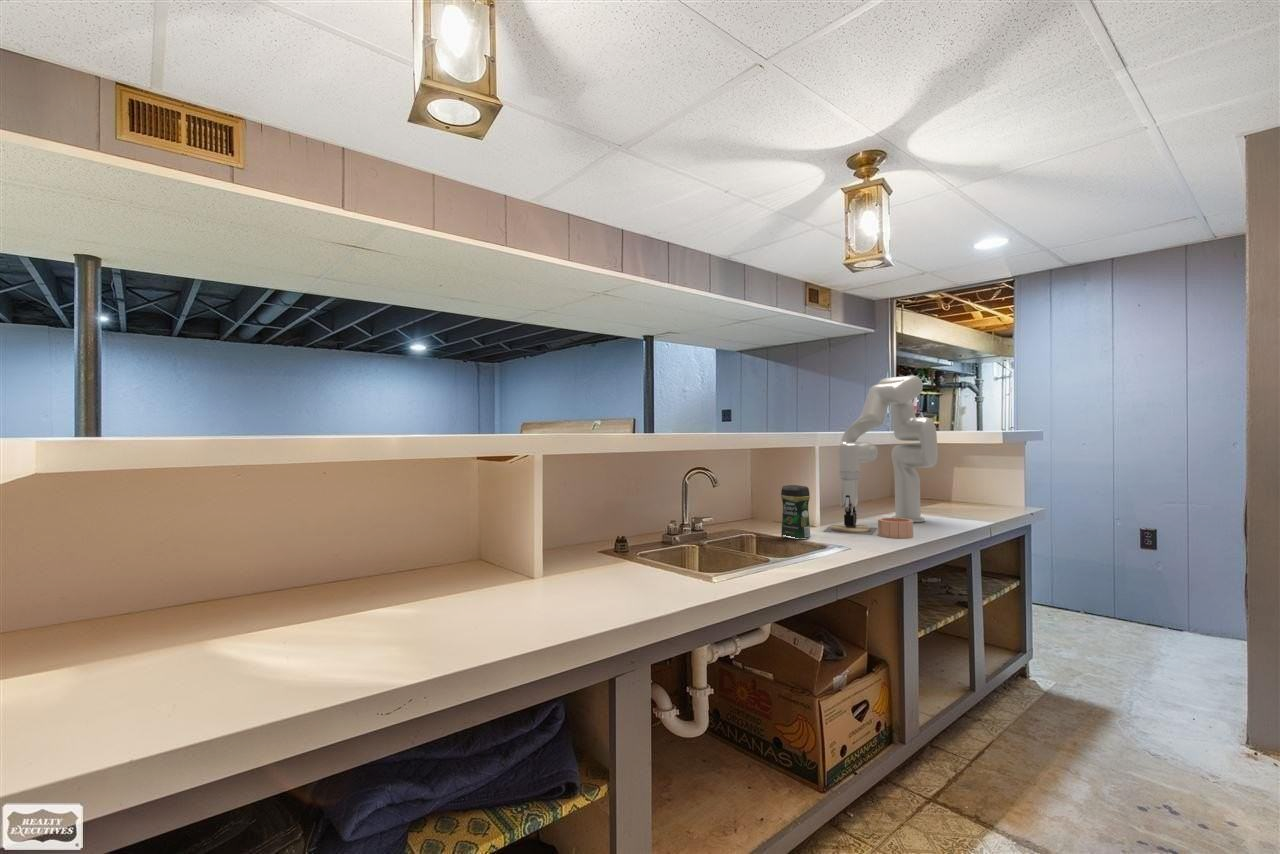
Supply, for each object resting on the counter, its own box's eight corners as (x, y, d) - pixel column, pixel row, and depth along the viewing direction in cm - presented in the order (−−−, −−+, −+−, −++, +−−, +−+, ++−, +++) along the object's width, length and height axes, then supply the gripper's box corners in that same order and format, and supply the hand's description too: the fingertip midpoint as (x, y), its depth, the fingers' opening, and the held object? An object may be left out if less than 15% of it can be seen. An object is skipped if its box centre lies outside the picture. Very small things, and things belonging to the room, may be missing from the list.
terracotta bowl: (880, 533, 213) (880, 517, 214) (914, 535, 208) (913, 518, 208) (876, 538, 204) (876, 521, 204) (911, 540, 199) (911, 523, 199)
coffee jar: (777, 537, 208) (776, 484, 209) (792, 534, 213) (791, 483, 213) (799, 541, 201) (798, 486, 201) (814, 538, 205) (813, 485, 206)
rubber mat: (831, 526, 230) (831, 525, 230) (877, 529, 222) (877, 527, 222) (822, 533, 216) (822, 531, 216) (871, 536, 207) (871, 534, 207)
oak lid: (834, 525, 228) (834, 510, 229) (873, 528, 222) (872, 512, 222) (827, 531, 216) (827, 515, 216) (868, 533, 209) (867, 517, 210)
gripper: (843, 474, 229) (844, 520, 228) (834, 477, 213) (835, 527, 213) (863, 474, 225) (864, 521, 225) (856, 478, 210) (857, 528, 210)
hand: (850, 524), depth 219 cm, fingers open, 6 cm apart
